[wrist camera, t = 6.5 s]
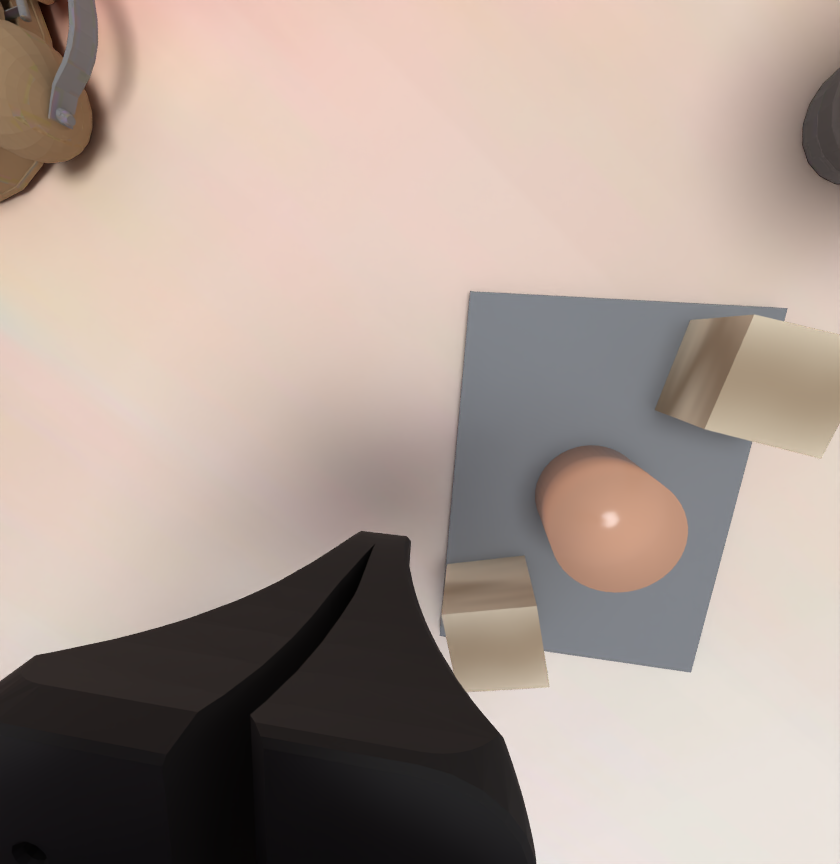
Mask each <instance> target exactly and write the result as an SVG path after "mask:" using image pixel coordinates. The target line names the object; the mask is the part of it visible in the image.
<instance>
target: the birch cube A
mask: <svg viewBox="0 0 840 864" xmlns="http://www.w3.org/2000/svg"><path fill="white" fill-rule="evenodd" d="M441 615H442V620H443V625H444V629H445V634H446V639H447V643H448V648H449V653H450V658H451V662H452V667H453V672H454V675H455V677H456V678H457V680H458V681H459V683H460V684H461V685H462V687H463V688H464V690H465V691H466V692H477V691H495V690H512V689H529V688H546V687H549V680H548V674H547V668H546V661H545V655H544V649H543V642H542V636H541V629H540V623H539V617H538V610H537V605H536V600H535V596H534V592H533V588H532V584H531V580H530V576H529V572H528V568H527V564H526V559H525V555H524V556H515V557H506V558H497V559H488V560H479V561H470V562H461V563H452V564H447V569H446V578H445V587H444V596H443V605H442V614H441Z"/></svg>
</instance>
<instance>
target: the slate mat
mask: <svg viewBox="0 0 840 864" xmlns="http://www.w3.org/2000/svg"><path fill="white" fill-rule="evenodd" d="M787 309H788V308H773V307H754V306H735V305H716V304H698V303H679V302H660V301H641V300H623V299H604V298H585V297H566V296H548V295H529V294H510V293H492V292H473V291H470V299H469V311H468V322H467V333H466V345H465V356H464V367H463V378H462V390H461V401H460V412H459V424H458V435H457V446H456V457H455V469H454V480H453V491H452V503H451V514H450V525H449V536H448V548H447V559H446V569H447V564H452V563H461V562H470V561H479V560H488V559H497V558H506V557H515V556H524V555H525V559H526V564H527V568H528V572H529V576H530V580H531V584H532V588H533V592H534V596H535V600H536V605H537V610H538V617H539V623H540V629H541V636H542V642H543V649H544V651H547V652H554V653H561V654H568V655H575V656H582V657H588V658H595V659H602V660H609V661H616V662H623V663H630V664H636V665H643V666H650V667H657V668H664V669H671V670H677V671H684V672H691V670H692V666H693V663H694V659H695V655H696V651H697V648H698V644H699V640H700V636H701V633H702V629H703V625H704V621H705V617H706V614H707V610H708V606H709V602H710V599H711V595H712V591H713V587H714V584H715V580H716V576H717V572H718V569H719V565H720V561H721V557H722V553H723V550H724V546H725V542H726V538H727V535H728V531H729V527H730V523H731V520H732V516H733V512H734V508H735V504H736V501H737V497H738V493H739V489H740V486H741V482H742V478H743V474H744V471H745V467H746V463H747V459H748V455H749V452H750V448H751V444H752V441H749V440H745V439H741V438H737V437H733V436H729V435H725V434H721V433H717V432H713V431H710V430H706V429H703V428H700V427H697V426H695V425H692V424H690V423H687V422H685V421H682V420H679V419H677V418H674V417H672V416H669V415H666V414H664V413H661V412H659V411H656V410H655V408H656V405H657V403H658V400H659V398H660V395H661V393H662V390H663V387H664V385H665V382H666V380H667V377H668V375H669V372H670V370H671V367H672V365H673V362H674V360H675V357H676V355H677V352H678V350H679V347H680V345H681V342H682V340H683V337H684V335H685V332H686V330H687V327H688V325H689V322H690V320H697V319H709V318H720V317H731V316H743V315H754V314H755V315H759V316H763V317H767V318H772V319H776V320H780V321H784V320H785V316H786V312H787ZM588 445H595V446H603V447H607V448H611V449H613V450H616V451H618V452H620V453H621V454H623V455H624V456H626V457H627V458H628V459H630V460H631V461H632V462H634V463H635V464H636V465H638V466H639V467H640V468H641V469H643V470H644V471H645V472H647V473H648V474H649V475H651V476H652V477H653V478H655V479H656V480H657V481H658V482H660V483H661V484H662V485H664V486H665V487H666V488H667V489H669V490H670V491H671V492H672V493H673V494H674V495H675V496H676V498H677V499H678V500H679V502H680V503H681V505H682V507H683V509H684V511H685V515H686V518H687V524H688V537H687V543H686V546H685V549H684V552H683V554H682V556H681V558H680V559H679V561H678V562H677V564H676V565H675V566H674V567H673V569H672V570H671V571H670V572H669V573H668V574H666V575H665V576H664V577H663V578H661V579H660V580H658V581H657V582H655V583H653V584H651V585H649V586H647V587H644V588H641V589H638V590H634V591H629V592H617V593H614V592H604V591H599V590H595V589H592V588H589V587H587V586H584V585H582V584H580V583H579V582H577V581H575V580H574V579H573V578H572V577H570V576H569V575H568V574H567V573H566V572H565V571H564V570H563V569H562V567H561V566H560V565H559V563H558V562H557V560H556V558H555V556H554V553H553V551H552V548H551V545H550V543H549V540H548V537H547V535H546V532H545V529H544V527H543V524H542V521H541V519H540V516H539V513H538V511H537V507H536V503H535V490H536V485H537V482H538V479H539V477H540V475H541V473H542V471H543V470H544V468H545V467H546V466H547V465H548V464H549V463H550V462H551V461H552V460H553V459H554V458H555V457H557V456H558V455H560V454H561V453H563V452H565V451H567V450H570V449H573V448H576V447H580V446H588ZM445 578H446V570H445ZM444 587H445V582H444ZM443 596H444V593H443ZM442 605H443V604H442ZM440 636H445V637H446V634H445V629H444V625H443V620H442V615H441V627H440Z"/></svg>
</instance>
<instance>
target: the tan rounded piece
mask: <svg viewBox="0 0 840 864" xmlns="http://www.w3.org/2000/svg"><path fill="white" fill-rule="evenodd" d="M535 503H536V507H537V511H538V513H539V516H540V519H541V521H542V524H543V527H544V529H545V532H546V535H547V537H548V540H549V543H550V545H551V548H552V551H553V553H554V556H555V558H556V560H557V562H558V563H559V565H560V566H561V567H562V569H563V570H564V571H565V572H566V573H567V574H568V575H569V576H570V577H572V578H573V579H574V580H575V581H577V582H579V583H580V584H582V585H584V586H587V587H589V588H592V589H595V590H599V591H604V592H614V593H617V592H629V591H634V590H638V589H641V588H644V587H647V586H649V585H651V584H653V583H655V582H657V581H658V580H660V579H661V578H663V577H664V576H665V575H666V574H668V573H669V572H670V571H671V570H672V569H673V567H674V566H675V565H676V564H677V562H678V561H679V559H680V558H681V556H682V554H683V552H684V549H685V546H686V543H687V537H688V524H687V518H686V515H685V511H684V509H683V507H682V505H681V503H680V502H679V500H678V499H677V498H676V496H675V495H674V494H673V493H672V492H671V491H670V490H669V489H667V488H666V487H665V486H664V485H662V484H661V483H660V482H658V481H657V480H656V479H655V478H653V477H652V476H651V475H649V474H648V473H647V472H645V471H644V470H643V469H641V468H640V467H639V466H638V465H636V464H635V463H634V462H632V461H631V460H630V459H628V458H627V457H626V456H624V455H623V454H621V453H620V452H618V451H616V450H613V449H611V448H607V447H603V446H595V445H588V446H580V447H576V448H573V449H570V450H567V451H565V452H563V453H561V454H560V455H558V456H557V457H555V458H554V459H553V460H552V461H551V462H550V463H549V464H548V465H547V466H546V467H545V468H544V470H543V471H542V473H541V475H540V477H539V479H538V482H537V485H536V490H535Z"/></svg>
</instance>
